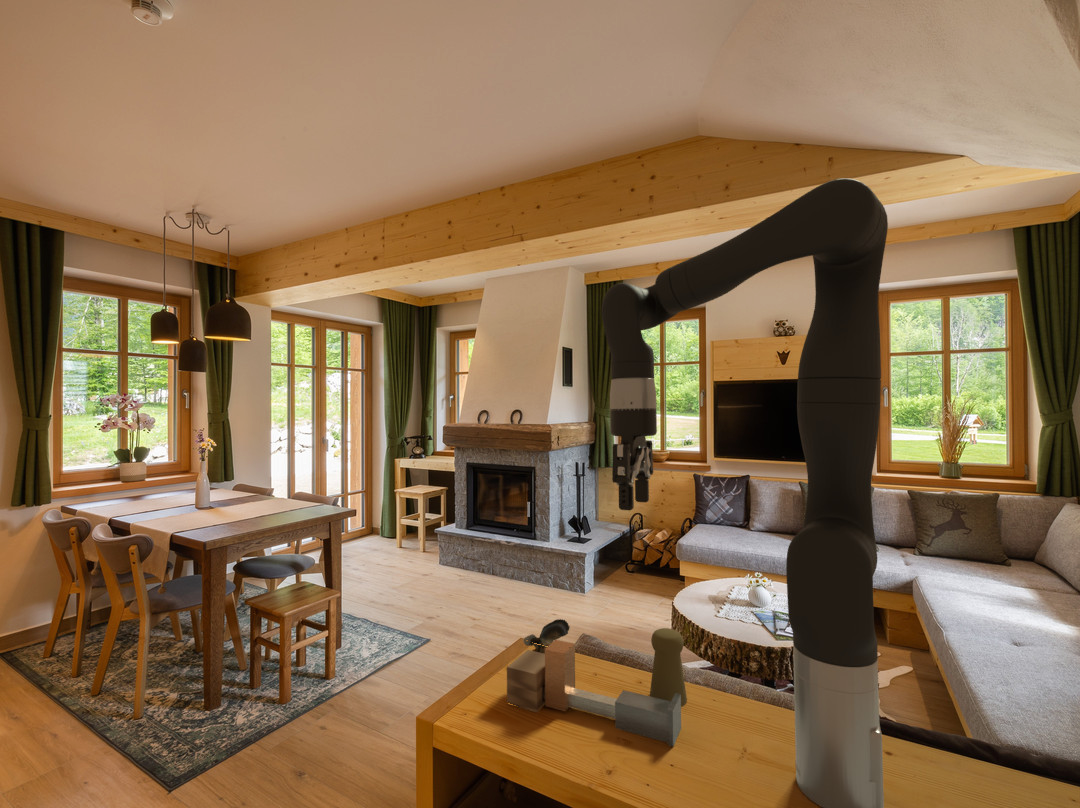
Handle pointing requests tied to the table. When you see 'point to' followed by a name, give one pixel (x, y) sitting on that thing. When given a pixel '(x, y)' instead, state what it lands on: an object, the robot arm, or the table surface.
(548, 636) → the eagle figurine
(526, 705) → the socket block
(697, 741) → the table surface
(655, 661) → the olive green pawn
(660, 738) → the sleeve
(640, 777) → the table surface
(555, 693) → the bar
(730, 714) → the table surface
